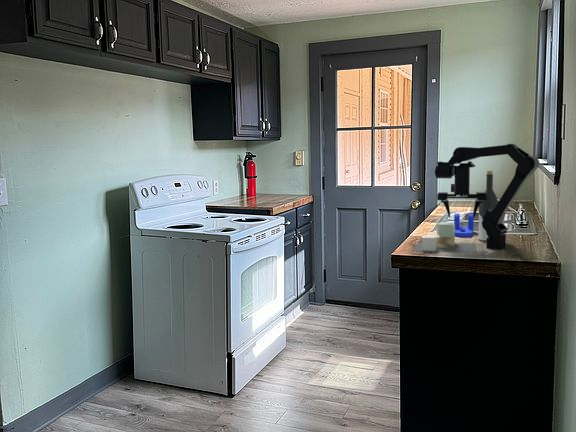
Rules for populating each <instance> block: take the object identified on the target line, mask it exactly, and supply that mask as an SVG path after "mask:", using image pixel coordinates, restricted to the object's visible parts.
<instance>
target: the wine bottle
mask: <svg viewBox="0 0 576 432" xmlns="http://www.w3.org/2000/svg"><path fill="white" fill-rule="evenodd" d="M493 180H494V174H493V170H487V172H486V183H485V185H486V189H485V191H484V192H485V193H486V194H487V200H483V203H480V205H479V207H478V241H480V242H484V243H486V238H488V236H487V233H486V230H485V229H484V228H483V227H482V221H483V219H482V218H483V217H484V216H485V214H486V211H487V210H489V209H494V208H495V207H496V205H497V203H498V202H499V199H498V197H497V195H496V193H495V191H494V189H493V188H494V181H493Z"/></svg>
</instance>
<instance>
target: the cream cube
mask: <svg viewBox="0 0 576 432" xmlns="http://www.w3.org/2000/svg"><path fill="white" fill-rule="evenodd" d="M436 237H437V235H423V236H422V239H421V242H422V251H421V252H426V251H436Z"/></svg>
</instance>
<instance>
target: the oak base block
mask: <svg viewBox="0 0 576 432" xmlns="http://www.w3.org/2000/svg"><path fill="white" fill-rule="evenodd" d="M455 243H456V237H455V235H452V237H439V235H437V234H436V247H443V248H455Z"/></svg>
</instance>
